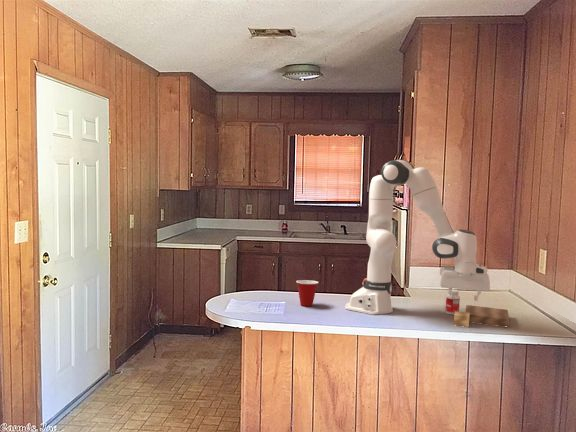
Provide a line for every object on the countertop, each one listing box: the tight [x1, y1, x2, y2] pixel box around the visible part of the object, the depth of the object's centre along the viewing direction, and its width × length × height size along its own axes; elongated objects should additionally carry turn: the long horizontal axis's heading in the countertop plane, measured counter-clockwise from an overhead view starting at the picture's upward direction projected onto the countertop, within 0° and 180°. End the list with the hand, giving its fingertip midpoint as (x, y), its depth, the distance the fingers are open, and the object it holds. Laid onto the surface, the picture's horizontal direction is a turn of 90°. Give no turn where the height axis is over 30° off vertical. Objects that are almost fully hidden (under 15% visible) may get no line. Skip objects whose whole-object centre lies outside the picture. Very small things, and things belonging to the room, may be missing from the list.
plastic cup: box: [295, 279, 319, 308], centre depth 236 cm, size 11×11×12 cm
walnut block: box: [464, 304, 510, 328], centre depth 221 cm, size 18×18×4 cm
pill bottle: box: [444, 288, 461, 316], centre depth 229 cm, size 6×6×11 cm
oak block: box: [453, 311, 470, 328], centre depth 211 cm, size 6×6×5 cm
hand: (464, 299), depth 211 cm, fingers open, 8 cm apart
